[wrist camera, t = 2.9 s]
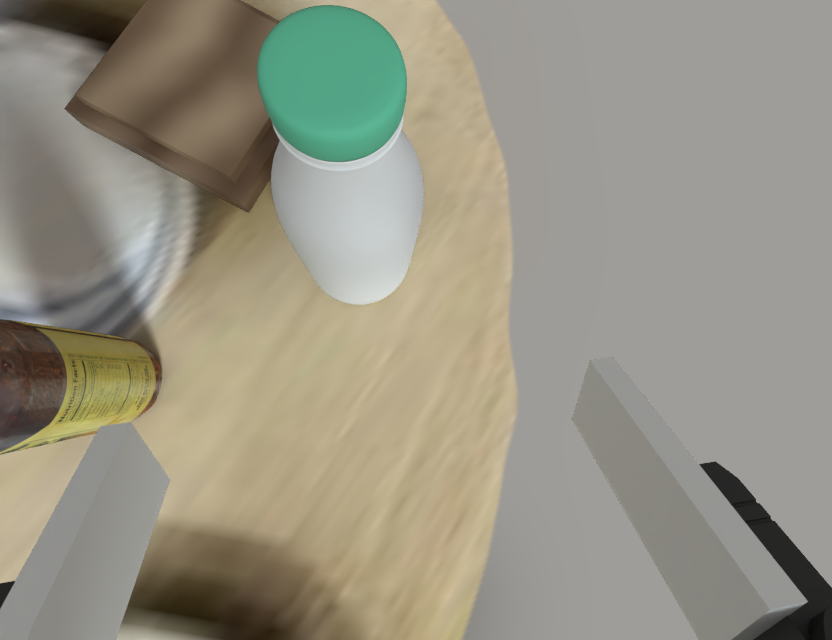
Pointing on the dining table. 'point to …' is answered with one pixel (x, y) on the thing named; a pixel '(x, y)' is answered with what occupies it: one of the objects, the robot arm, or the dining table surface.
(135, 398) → the sauce bottle
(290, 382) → the dining table surface
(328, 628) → the dining table surface
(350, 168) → the milk bottle
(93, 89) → the podium
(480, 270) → the dining table surface
